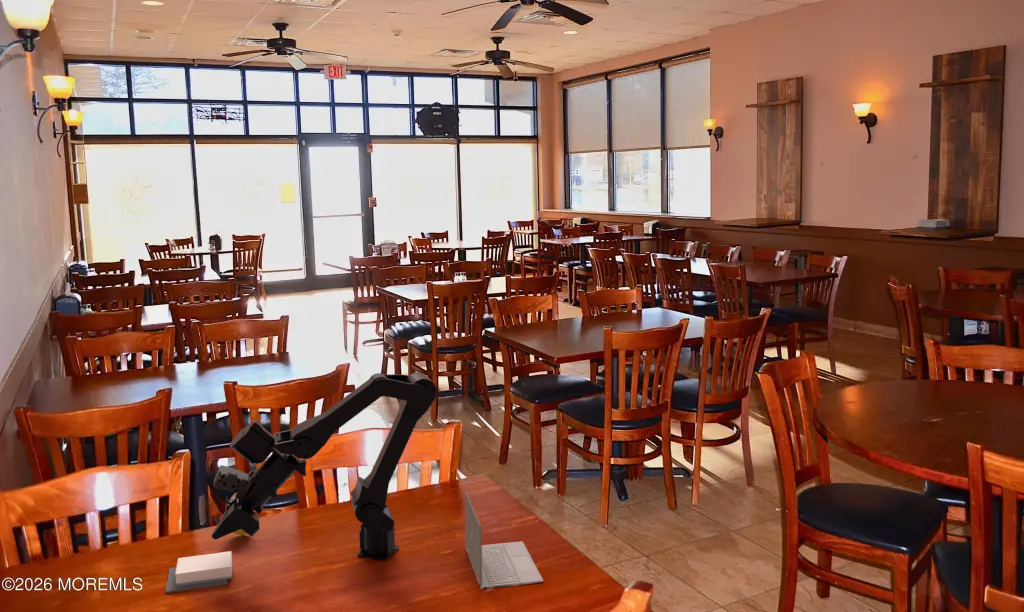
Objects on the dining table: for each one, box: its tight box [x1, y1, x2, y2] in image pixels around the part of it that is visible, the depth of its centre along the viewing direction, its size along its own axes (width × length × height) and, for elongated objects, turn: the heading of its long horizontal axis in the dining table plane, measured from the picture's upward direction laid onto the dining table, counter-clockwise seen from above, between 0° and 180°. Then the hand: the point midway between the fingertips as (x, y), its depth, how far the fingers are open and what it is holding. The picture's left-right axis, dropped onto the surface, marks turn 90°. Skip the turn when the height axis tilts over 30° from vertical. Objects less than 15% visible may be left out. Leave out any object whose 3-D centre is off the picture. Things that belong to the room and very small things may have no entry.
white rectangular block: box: [175, 550, 233, 586], centre depth 161 cm, size 2×7×10 cm
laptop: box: [464, 491, 544, 590], centre depth 165 cm, size 18×12×13 cm
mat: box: [164, 566, 228, 594], centre depth 161 cm, size 11×10×1 cm
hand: (213, 537), depth 161 cm, fingers closed
